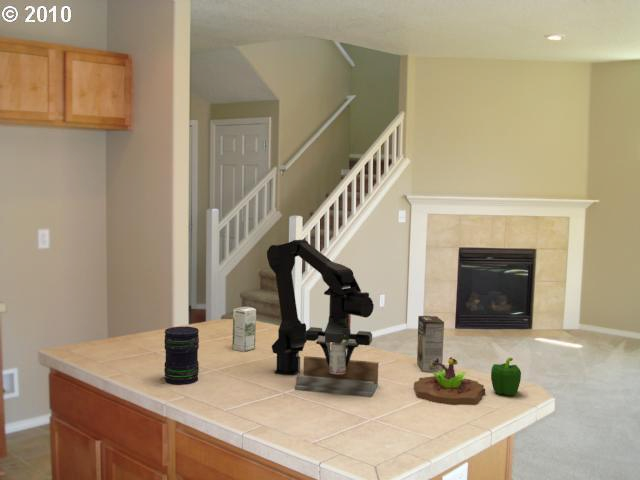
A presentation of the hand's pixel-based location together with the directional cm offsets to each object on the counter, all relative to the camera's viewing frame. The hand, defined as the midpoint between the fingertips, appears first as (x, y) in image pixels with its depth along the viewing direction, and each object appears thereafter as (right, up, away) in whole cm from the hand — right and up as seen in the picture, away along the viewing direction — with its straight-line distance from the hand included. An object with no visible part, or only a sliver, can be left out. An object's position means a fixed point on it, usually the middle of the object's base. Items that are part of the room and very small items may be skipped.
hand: (337, 365), depth 197 cm
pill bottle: (0, -2, 0) cm, 2 cm away
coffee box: (+30, -5, +23) cm, 38 cm away
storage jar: (-46, -5, +4) cm, 46 cm away
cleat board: (0, -6, 0) cm, 6 cm away
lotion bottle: (+3, -2, +47) cm, 47 cm away
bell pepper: (+48, -8, -2) cm, 48 cm away
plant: (+31, -8, -3) cm, 32 cm away
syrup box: (-31, -2, +41) cm, 52 cm away
